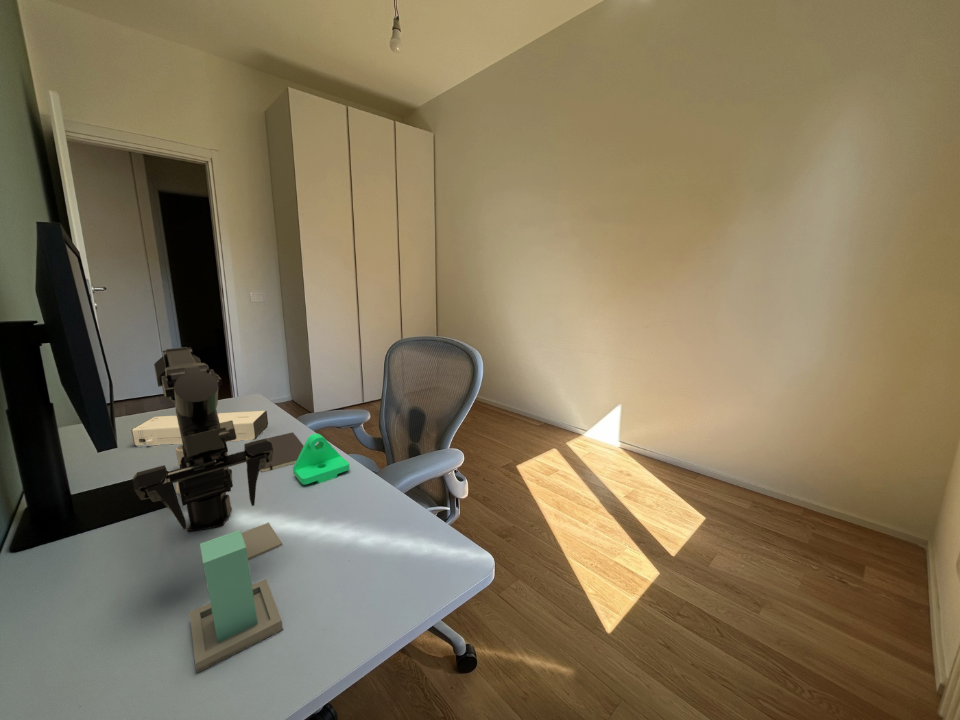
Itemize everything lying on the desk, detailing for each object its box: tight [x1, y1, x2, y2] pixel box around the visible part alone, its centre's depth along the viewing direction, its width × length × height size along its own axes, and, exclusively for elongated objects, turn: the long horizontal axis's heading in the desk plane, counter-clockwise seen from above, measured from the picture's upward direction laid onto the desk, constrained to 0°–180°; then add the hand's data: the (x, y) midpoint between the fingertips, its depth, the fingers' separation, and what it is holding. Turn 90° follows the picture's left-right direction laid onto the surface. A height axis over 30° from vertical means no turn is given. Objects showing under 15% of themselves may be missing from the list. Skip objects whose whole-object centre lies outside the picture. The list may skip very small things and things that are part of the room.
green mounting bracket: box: [292, 433, 350, 485], centre depth 102 cm, size 12×8×10 cm, turn 131°
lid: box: [241, 522, 284, 561], centre depth 77 cm, size 9×9×1 cm
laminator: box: [131, 410, 269, 446], centre depth 126 cm, size 34×12×6 cm, turn 99°
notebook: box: [248, 432, 304, 473], centre depth 116 cm, size 13×2×21 cm
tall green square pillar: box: [199, 529, 258, 643], centre depth 58 cm, size 5×5×13 cm
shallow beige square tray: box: [189, 578, 284, 674], centre depth 59 cm, size 10×10×2 cm
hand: (220, 516), depth 63 cm, fingers open, 9 cm apart
